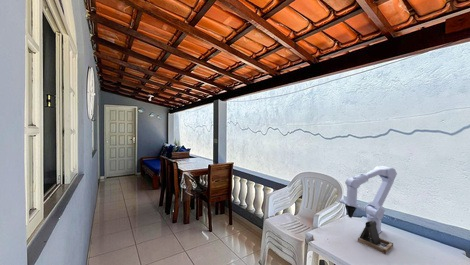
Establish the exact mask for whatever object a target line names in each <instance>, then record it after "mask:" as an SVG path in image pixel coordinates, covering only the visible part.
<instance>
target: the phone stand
mask: <svg viewBox="0 0 470 265" xmlns="http://www.w3.org/2000/svg"><path fill="white" fill-rule="evenodd" d="M372 221H373V220H372ZM372 221H369V222H367V221H366V222H365V226H364V227H363V230H362V232H361V234H360V236H359V237H358V238H361V239H363V240H365V241H368V242H370V243H372V244H374V245H377V246H379V245H381V244H382V243H381V242H380V238H381V237H380V235H379V234H378V231H377V228H376V225H377V224H376V222H375V221H374V222H372ZM369 234H370V237H371V238H369V237H368V236H369Z"/></svg>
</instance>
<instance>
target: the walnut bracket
mask: <svg viewBox="0 0 470 265" xmlns="http://www.w3.org/2000/svg"><path fill="white" fill-rule="evenodd" d="M368 237H369V238H371V237H370V234H369V236H368ZM379 238H380V242H381V244H383V245H385V244H386V245H385V247H384V248H383V247H381V246H379V245H374V244H372V243H370V242H368V241H365V240H363V239H361V238H359V237H357V242H358V243H360V244H362V245H364V246H367V247H369V248H371V249H373V250H376V251H378V252H380V253H382V254H384V255H386V254H387V253H389V251H390V250H392V248H393V247H394V242H391V241H389V240H387V239H384V238H381V237H379Z"/></svg>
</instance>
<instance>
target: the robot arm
mask: <svg viewBox="0 0 470 265" xmlns="http://www.w3.org/2000/svg"><path fill="white" fill-rule="evenodd" d="M397 175H398V173H397V171H396V169H395V168H394V167H389V166H385V165H380V164H378V165H376V166H375V167H374V169H371V170H370V171H368V172H366V173H363V172H362V173H361V172H360V173H359V174H357V175H356V176H352V177H348V178H346V180H345V181H344V182H345V183H344V184H345V185H346V200H344V199H339V200H338V203H339V204H343V205H345V209H346V211H347V215H348V218H350V219H352V218H353V216H354V214H355V211H356V210H357V209H358V210H360V211H364V213H365V215H366V222H369V221H372V220H373V221H372V222H374V221H375V222H376V224H377V225H376V228H377V231H378V235H379V234H380V233H382V232H383V229H382V219H383V218H384V216H385V215H384V213H385V211H386V210H385V208H384V207H383V205H384V203H385V201H386V199H387V197H388V194H389V192H390V190H391V188H392V186H393V184H394V181H395V179H396V177H397ZM377 176H378V177H379V178H380V179H381V181H382V182H381V183H380V185H379V187H378V190H377V192H376V194H375V196H374V198H373V200H372V201H369V202H368V203H367V204H366V205H365V206H362V205H361V204H359V203H358V202H357V199H358V189H359V188H360V187H361V185H363V184H365V183H368V182H369V179H372V178H374V177H377Z"/></svg>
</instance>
